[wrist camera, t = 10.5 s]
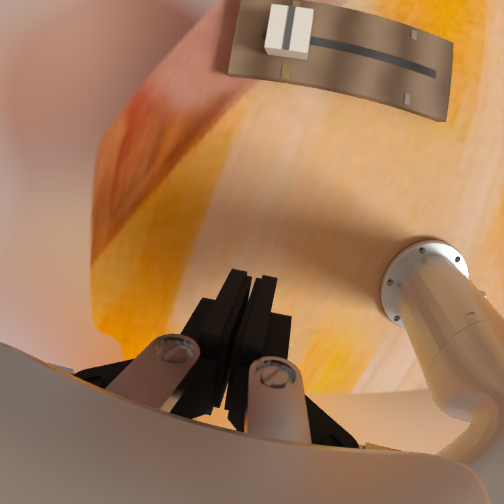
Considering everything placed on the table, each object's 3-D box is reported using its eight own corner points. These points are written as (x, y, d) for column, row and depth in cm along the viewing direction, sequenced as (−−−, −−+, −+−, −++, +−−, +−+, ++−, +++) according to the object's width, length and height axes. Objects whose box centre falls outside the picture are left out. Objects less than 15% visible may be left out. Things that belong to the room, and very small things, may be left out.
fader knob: (312, 19, 25) (313, 8, 22) (306, 60, 27) (307, 52, 24) (274, 14, 25) (271, 3, 22) (267, 54, 27) (264, 46, 24)
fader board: (446, 46, 25) (453, 43, 23) (438, 122, 28) (446, 121, 27) (245, 1, 27) (241, -6, 25) (231, 76, 31) (227, 73, 29)
